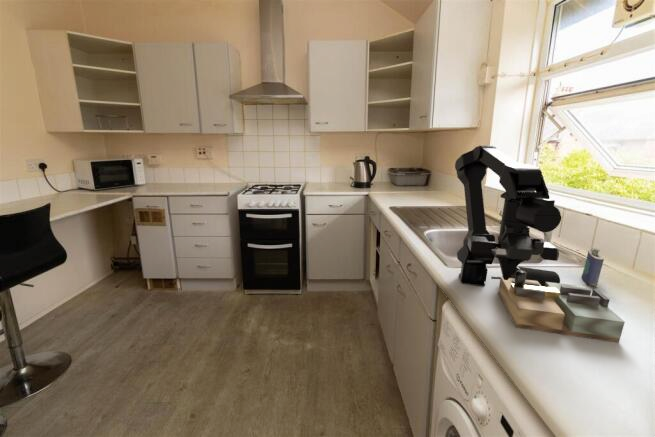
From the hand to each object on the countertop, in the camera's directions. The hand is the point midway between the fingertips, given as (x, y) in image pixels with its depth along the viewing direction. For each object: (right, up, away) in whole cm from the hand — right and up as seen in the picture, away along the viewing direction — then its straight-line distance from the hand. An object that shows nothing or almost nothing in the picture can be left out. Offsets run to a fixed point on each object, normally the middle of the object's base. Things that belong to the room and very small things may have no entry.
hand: (505, 279), depth 79 cm
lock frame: (+11, -9, -1) cm, 14 cm away
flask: (+36, -4, +18) cm, 40 cm away
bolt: (+7, -3, -1) cm, 7 cm away
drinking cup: (+22, -3, +13) cm, 25 cm away
